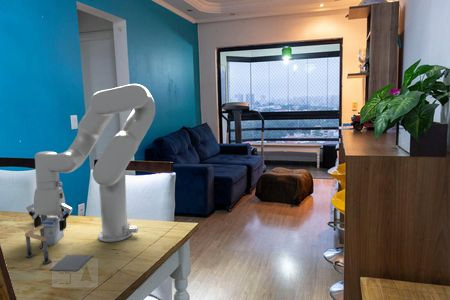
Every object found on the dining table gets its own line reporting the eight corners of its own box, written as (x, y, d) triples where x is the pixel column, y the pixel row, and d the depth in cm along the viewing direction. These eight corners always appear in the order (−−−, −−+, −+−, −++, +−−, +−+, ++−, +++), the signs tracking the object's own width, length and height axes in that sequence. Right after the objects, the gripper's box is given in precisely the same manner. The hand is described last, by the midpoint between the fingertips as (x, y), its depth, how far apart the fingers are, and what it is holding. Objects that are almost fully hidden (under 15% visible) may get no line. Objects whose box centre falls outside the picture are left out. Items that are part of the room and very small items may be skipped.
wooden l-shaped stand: (69, 246, 121) (68, 223, 120) (48, 264, 108) (45, 238, 106) (41, 246, 122) (38, 223, 120) (15, 263, 109) (13, 238, 107)
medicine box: (52, 236, 131) (50, 215, 129) (64, 235, 131) (62, 214, 130) (43, 245, 123) (41, 222, 122) (55, 244, 123) (53, 221, 122)
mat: (92, 256, 113) (92, 255, 113) (77, 271, 103) (77, 270, 103) (66, 255, 114) (66, 254, 114) (49, 270, 104) (49, 269, 104)
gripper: (75, 183, 127) (77, 226, 129) (32, 181, 128) (34, 224, 130) (65, 188, 119) (67, 233, 122) (19, 186, 121) (22, 231, 123)
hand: (50, 229), depth 126 cm, fingers open, 9 cm apart
